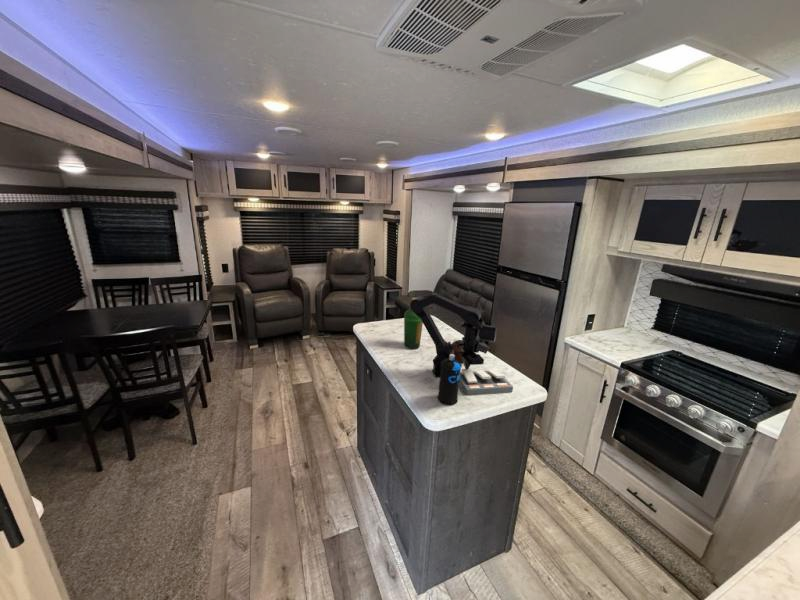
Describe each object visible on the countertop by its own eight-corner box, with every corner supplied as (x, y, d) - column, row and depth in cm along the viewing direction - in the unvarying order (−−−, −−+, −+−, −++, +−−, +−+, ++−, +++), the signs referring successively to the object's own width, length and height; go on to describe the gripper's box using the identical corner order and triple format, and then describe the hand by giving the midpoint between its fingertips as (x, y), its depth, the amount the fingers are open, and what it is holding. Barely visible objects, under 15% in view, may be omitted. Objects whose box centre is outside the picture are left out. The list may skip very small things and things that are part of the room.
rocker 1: (467, 384, 133) (468, 381, 133) (461, 371, 140) (462, 368, 140) (476, 383, 134) (477, 381, 133) (469, 370, 141) (470, 368, 140)
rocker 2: (482, 380, 134) (482, 376, 134) (474, 374, 142) (474, 370, 142) (491, 379, 135) (491, 376, 135) (482, 373, 142) (483, 370, 142)
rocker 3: (496, 379, 135) (496, 376, 135) (487, 373, 143) (488, 370, 143) (504, 378, 136) (505, 375, 136) (496, 373, 144) (496, 369, 144)
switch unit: (466, 395, 130) (467, 389, 129) (454, 377, 143) (455, 372, 142) (512, 391, 134) (513, 386, 133) (497, 375, 147) (497, 370, 146)
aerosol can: (433, 398, 126) (437, 354, 120) (445, 391, 132) (450, 348, 126) (449, 408, 121) (454, 362, 115) (461, 399, 126) (467, 355, 121)
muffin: (444, 358, 161) (446, 340, 158) (456, 352, 168) (458, 335, 165) (463, 367, 153) (466, 348, 150) (475, 360, 160) (478, 342, 158)
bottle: (424, 349, 170) (428, 300, 162) (406, 351, 166) (409, 301, 158) (416, 341, 179) (419, 295, 171) (399, 343, 175) (401, 296, 167)
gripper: (497, 345, 128) (492, 379, 132) (479, 328, 145) (475, 358, 150) (472, 346, 126) (468, 380, 130) (456, 329, 143) (453, 359, 148)
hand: (466, 369), depth 139 cm, fingers closed
